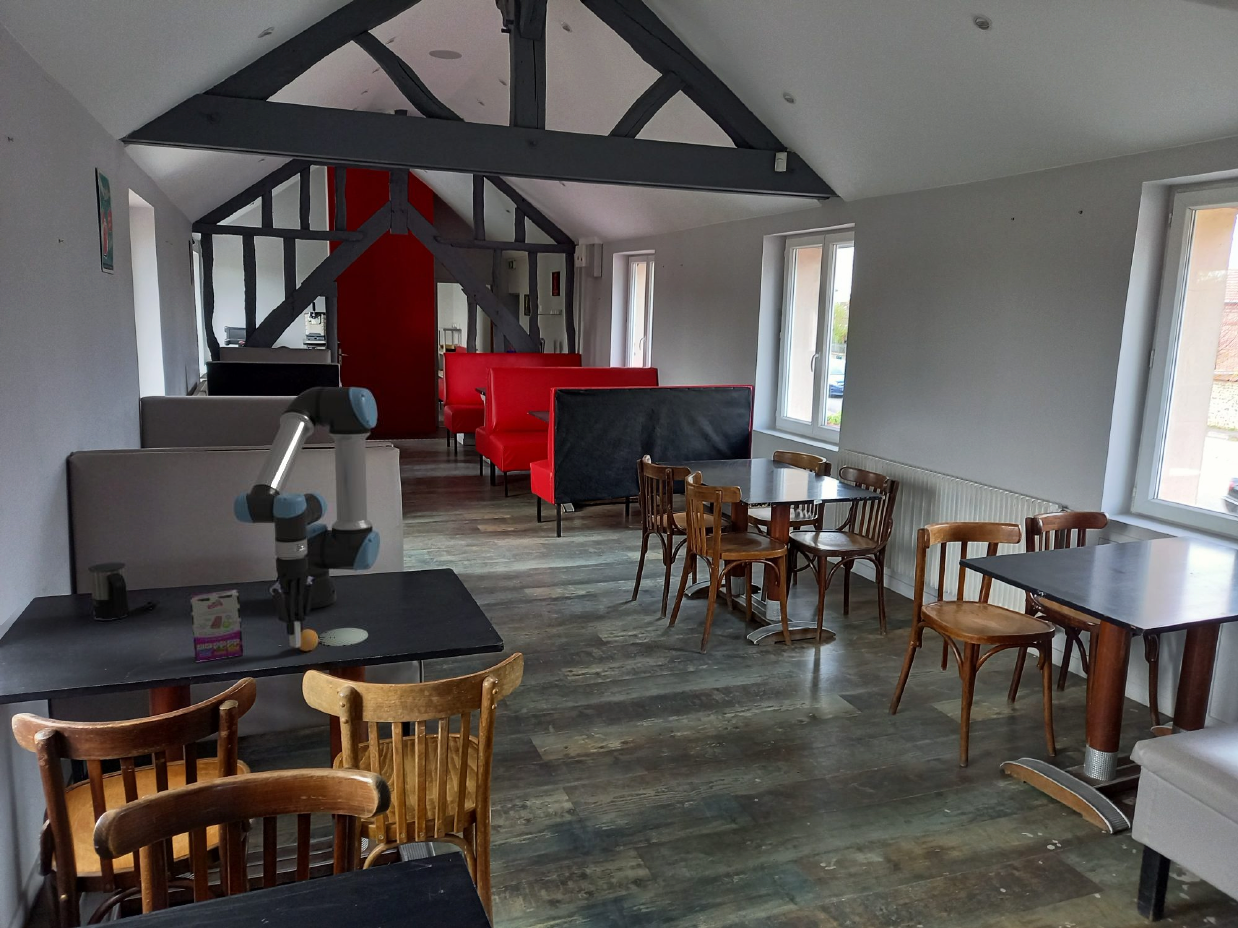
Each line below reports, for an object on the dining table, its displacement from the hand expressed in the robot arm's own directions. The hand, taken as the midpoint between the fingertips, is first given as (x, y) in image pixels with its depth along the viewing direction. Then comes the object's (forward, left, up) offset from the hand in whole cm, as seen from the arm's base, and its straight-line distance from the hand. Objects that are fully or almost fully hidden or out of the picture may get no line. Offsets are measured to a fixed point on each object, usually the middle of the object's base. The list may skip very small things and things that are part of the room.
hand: (295, 645), depth 222 cm
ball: (0, +3, 0) cm, 3 cm away
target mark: (0, +15, -2) cm, 15 cm away
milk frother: (-64, -10, -3) cm, 65 cm away
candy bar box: (-14, -12, -3) cm, 19 cm away
